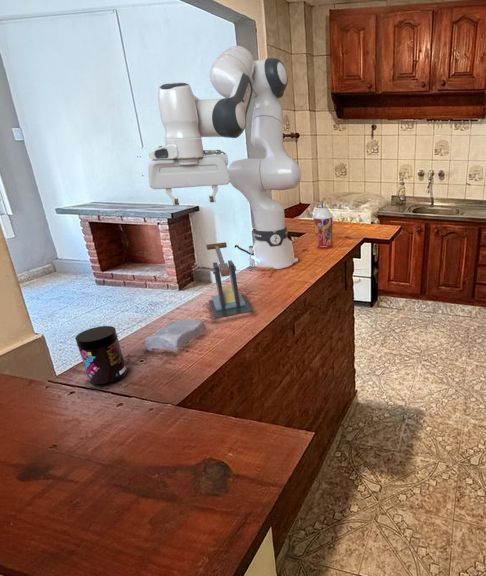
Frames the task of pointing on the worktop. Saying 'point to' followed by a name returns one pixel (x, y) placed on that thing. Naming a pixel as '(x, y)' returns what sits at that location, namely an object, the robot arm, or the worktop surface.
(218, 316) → the butter cutter
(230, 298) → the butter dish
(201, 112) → the robot arm
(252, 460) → the worktop surface
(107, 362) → the supplement container
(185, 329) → the stone block
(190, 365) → the worktop surface
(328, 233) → the smoothie
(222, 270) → the arm
